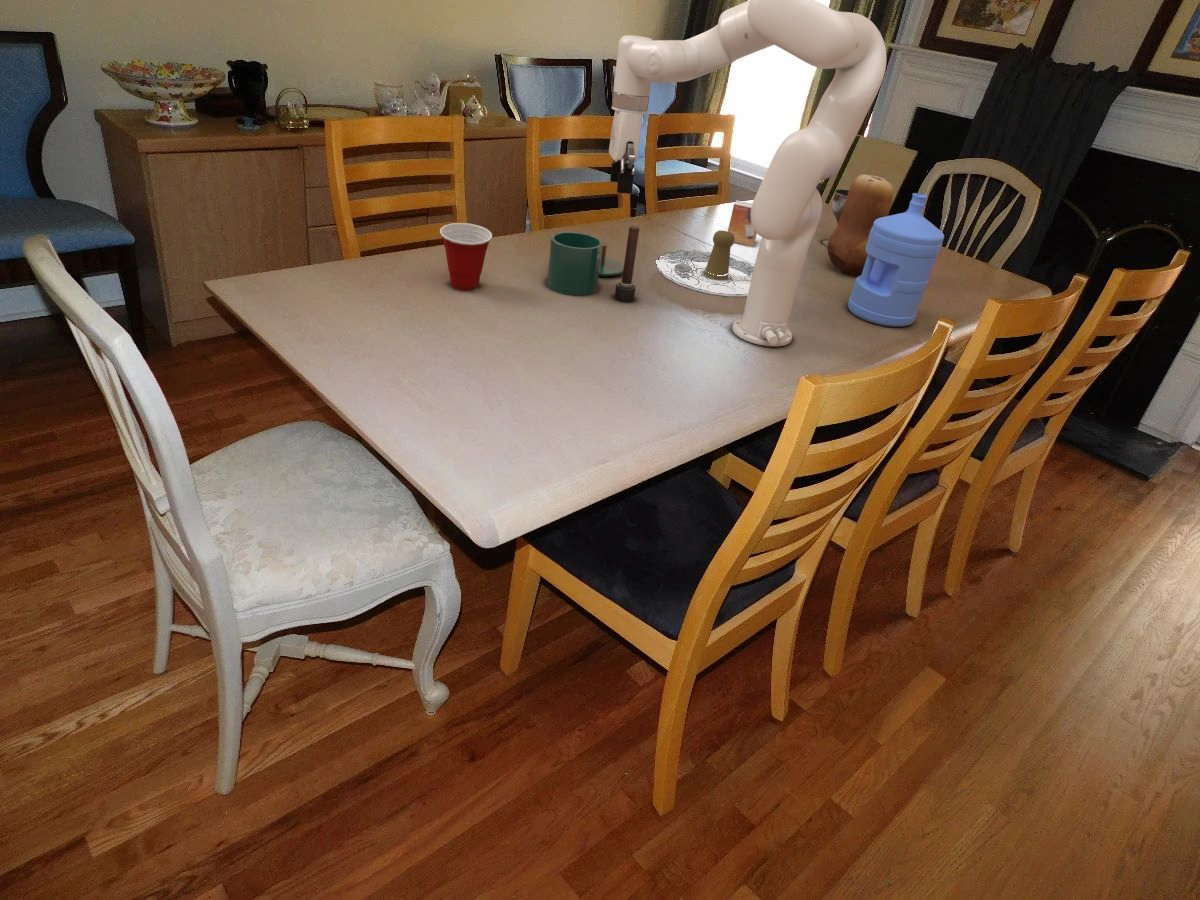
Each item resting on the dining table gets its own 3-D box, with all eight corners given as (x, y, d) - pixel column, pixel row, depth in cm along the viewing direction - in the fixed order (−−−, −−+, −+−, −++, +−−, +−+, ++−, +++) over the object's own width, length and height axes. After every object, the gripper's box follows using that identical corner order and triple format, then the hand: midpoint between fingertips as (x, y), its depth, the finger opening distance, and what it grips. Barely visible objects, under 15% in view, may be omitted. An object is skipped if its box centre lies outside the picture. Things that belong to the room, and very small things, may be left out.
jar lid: (628, 280, 181) (631, 254, 178) (576, 276, 179) (579, 250, 175) (619, 262, 191) (622, 237, 188) (570, 258, 189) (572, 234, 185)
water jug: (899, 305, 189) (939, 190, 174) (923, 331, 176) (970, 209, 161) (838, 299, 187) (874, 182, 172) (858, 324, 174) (899, 200, 159)
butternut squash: (881, 276, 207) (913, 182, 194) (854, 283, 199) (885, 185, 186) (838, 260, 215) (866, 168, 202) (811, 266, 207) (837, 171, 194)
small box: (725, 241, 218) (733, 203, 212) (728, 236, 222) (736, 199, 217) (752, 246, 216) (761, 209, 210) (755, 241, 221) (763, 205, 215)
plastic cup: (445, 296, 159) (445, 239, 153) (434, 277, 168) (434, 222, 161) (495, 294, 163) (498, 239, 157) (483, 276, 172) (485, 222, 165)
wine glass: (815, 240, 230) (829, 189, 222) (836, 239, 233) (850, 189, 225) (832, 249, 224) (847, 197, 216) (853, 248, 227) (869, 197, 219)
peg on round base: (635, 302, 169) (646, 231, 161) (616, 301, 168) (626, 229, 160) (632, 295, 173) (642, 225, 164) (612, 294, 172) (622, 223, 163)
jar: (600, 296, 170) (606, 250, 164) (549, 293, 168) (553, 246, 162) (593, 278, 179) (598, 233, 174) (544, 275, 177) (548, 230, 171)
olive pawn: (727, 273, 194) (736, 230, 188) (728, 281, 189) (738, 237, 183) (703, 269, 194) (712, 226, 188) (704, 277, 189) (713, 233, 183)
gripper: (606, 95, 166) (598, 176, 175) (619, 108, 152) (609, 196, 161) (640, 98, 167) (630, 179, 176) (656, 111, 153) (644, 198, 162)
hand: (620, 187), depth 168 cm, fingers open, 9 cm apart
